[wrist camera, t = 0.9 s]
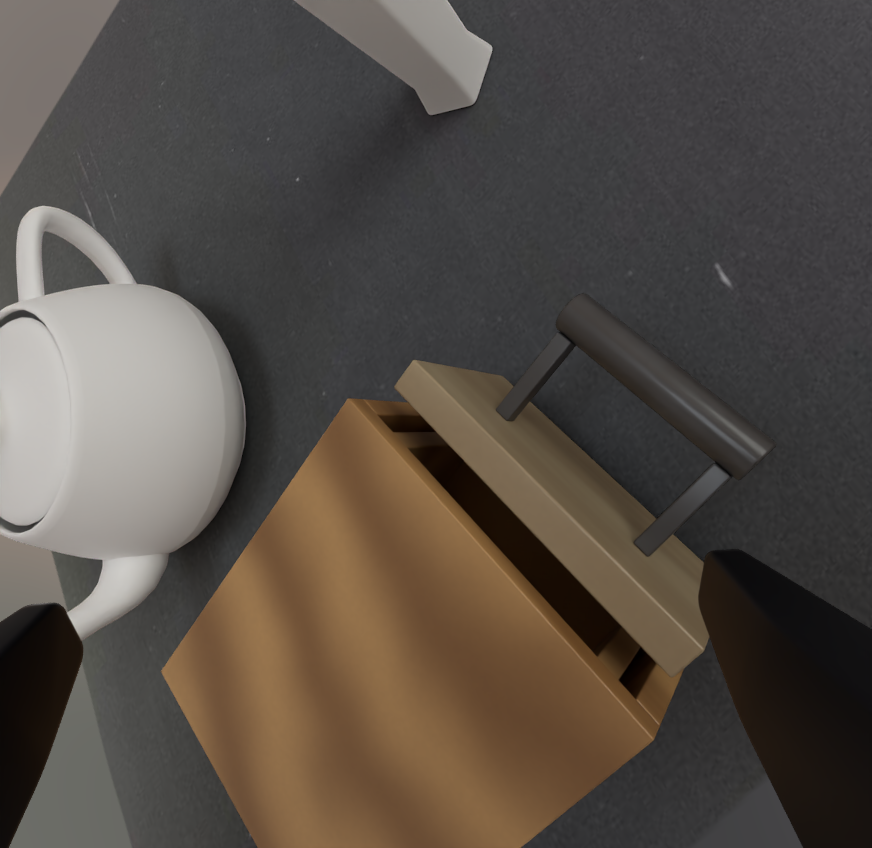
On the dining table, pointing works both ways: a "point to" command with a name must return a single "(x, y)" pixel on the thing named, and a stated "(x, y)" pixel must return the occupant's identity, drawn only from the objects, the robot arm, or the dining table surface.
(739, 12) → the dining table surface
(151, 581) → the teapot
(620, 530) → the drawer
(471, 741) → the cabinet
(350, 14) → the white faceted vase
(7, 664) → the robot arm
